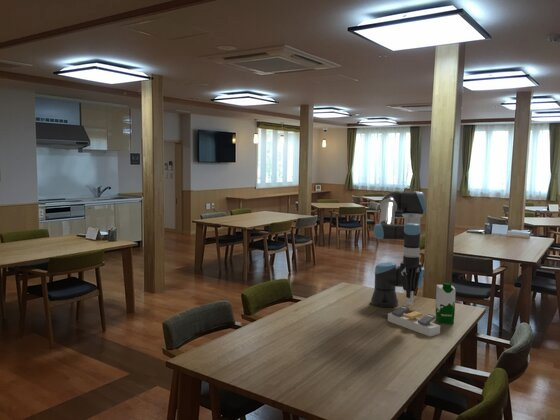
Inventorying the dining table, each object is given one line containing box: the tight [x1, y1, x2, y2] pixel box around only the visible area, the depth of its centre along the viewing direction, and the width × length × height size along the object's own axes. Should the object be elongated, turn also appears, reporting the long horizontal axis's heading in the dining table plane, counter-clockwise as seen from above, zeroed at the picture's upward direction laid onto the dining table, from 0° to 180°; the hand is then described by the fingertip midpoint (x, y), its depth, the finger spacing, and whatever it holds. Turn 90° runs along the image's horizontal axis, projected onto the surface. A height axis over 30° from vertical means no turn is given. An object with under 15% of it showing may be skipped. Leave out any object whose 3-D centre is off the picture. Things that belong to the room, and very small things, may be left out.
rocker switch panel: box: [379, 311, 441, 338], centre depth 231 cm, size 7×34×5 cm, turn 34°
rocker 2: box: [404, 310, 423, 319], centre depth 227 cm, size 8×4×1 cm, turn 124°
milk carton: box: [435, 282, 457, 325], centre depth 236 cm, size 9×9×20 cm
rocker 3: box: [418, 313, 437, 325], centre depth 220 cm, size 8×4×1 cm, turn 124°
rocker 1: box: [391, 305, 410, 316], centre depth 234 cm, size 8×4×1 cm, turn 124°
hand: (409, 304), depth 225 cm, fingers closed
